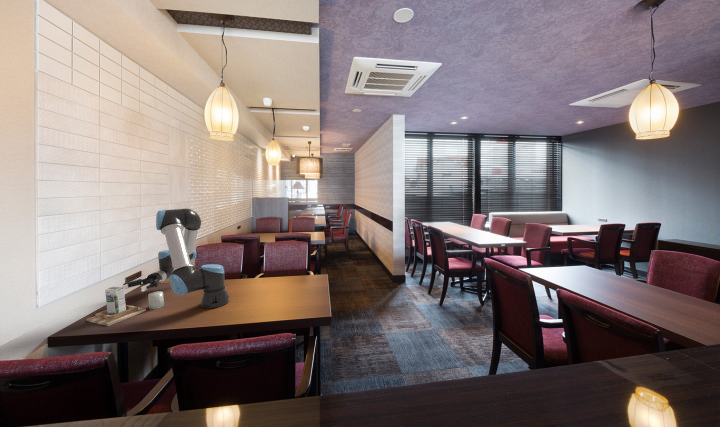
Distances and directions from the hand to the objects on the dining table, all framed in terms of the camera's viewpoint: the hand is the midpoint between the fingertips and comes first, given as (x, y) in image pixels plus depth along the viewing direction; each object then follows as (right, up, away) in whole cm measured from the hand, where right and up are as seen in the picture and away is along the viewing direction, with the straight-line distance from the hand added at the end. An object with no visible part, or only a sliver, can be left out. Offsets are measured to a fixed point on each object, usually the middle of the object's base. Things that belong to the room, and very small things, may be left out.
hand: (129, 289), depth 162 cm
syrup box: (0, -11, -9) cm, 14 cm away
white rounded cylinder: (+14, -11, +2) cm, 18 cm away
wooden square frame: (0, -12, -8) cm, 15 cm away
